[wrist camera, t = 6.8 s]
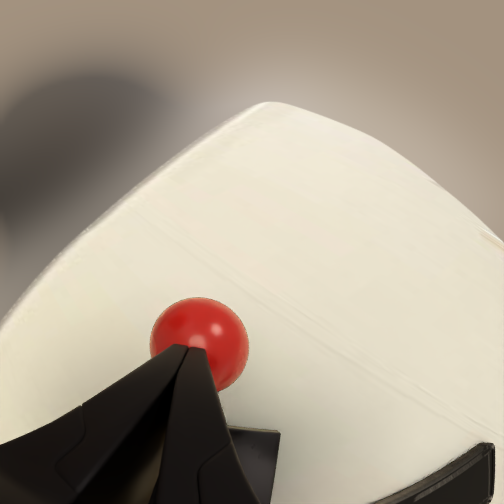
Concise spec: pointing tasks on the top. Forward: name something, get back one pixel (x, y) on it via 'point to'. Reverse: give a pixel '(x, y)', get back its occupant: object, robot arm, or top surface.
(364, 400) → the top surface
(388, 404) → the top surface
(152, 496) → the bracket
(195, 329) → the lever
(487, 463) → the phone
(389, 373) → the top surface
